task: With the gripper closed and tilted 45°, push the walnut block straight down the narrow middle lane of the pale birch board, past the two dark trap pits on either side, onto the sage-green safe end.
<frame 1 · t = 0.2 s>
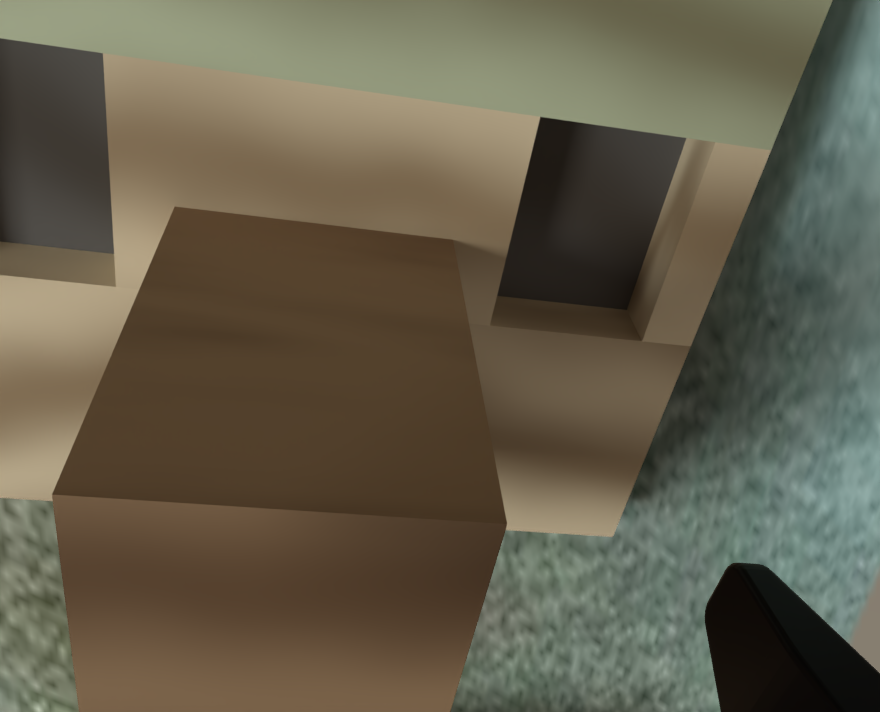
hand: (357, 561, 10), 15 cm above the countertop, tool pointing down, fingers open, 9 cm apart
trap board: (319, 207, 23), on the countertop
walnut block: (306, 337, 23), point 2 cm above the countertop, touching trap board
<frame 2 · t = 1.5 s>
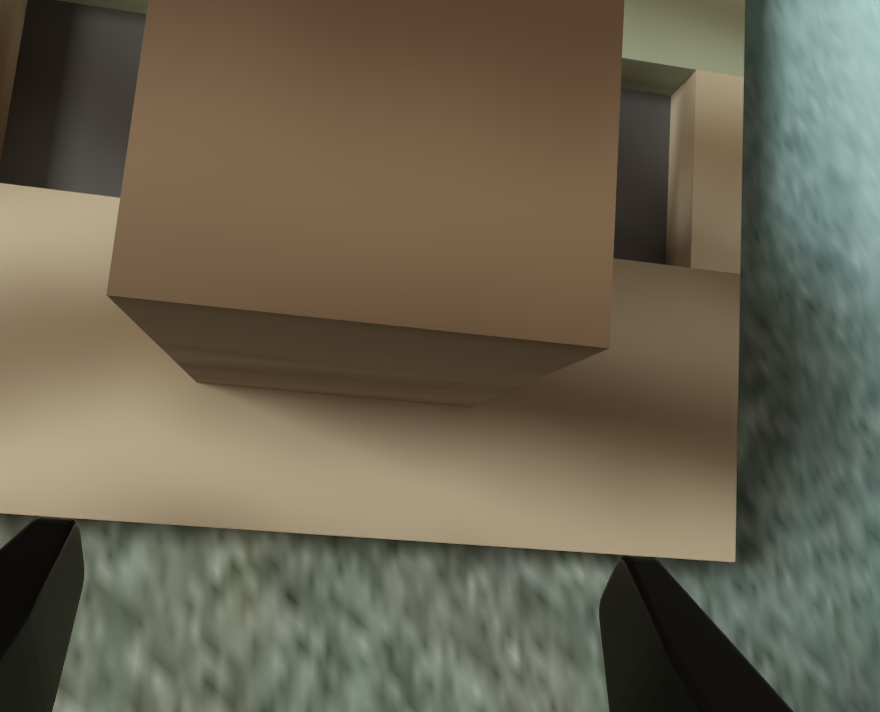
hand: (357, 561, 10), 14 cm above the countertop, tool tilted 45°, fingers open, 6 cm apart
trap board: (355, 180, 24), on the countertop
walnut block: (349, 263, 22), point 2 cm above the countertop, touching trap board
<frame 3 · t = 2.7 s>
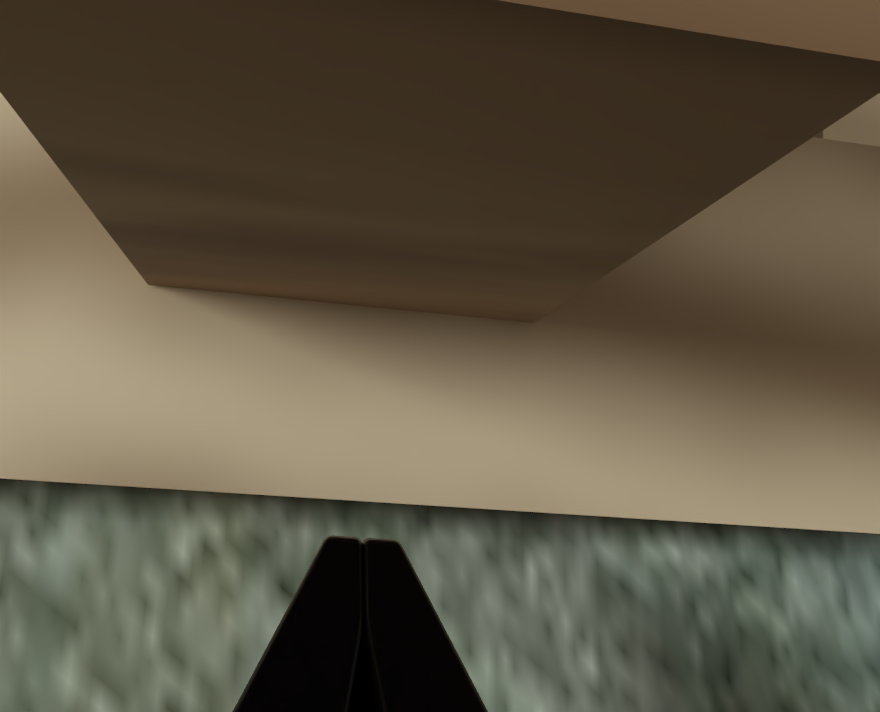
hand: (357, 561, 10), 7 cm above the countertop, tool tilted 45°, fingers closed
trap board: (366, 31, 18), on the countertop
walnut block: (362, 123, 16), point 2 cm above the countertop, touching trap board
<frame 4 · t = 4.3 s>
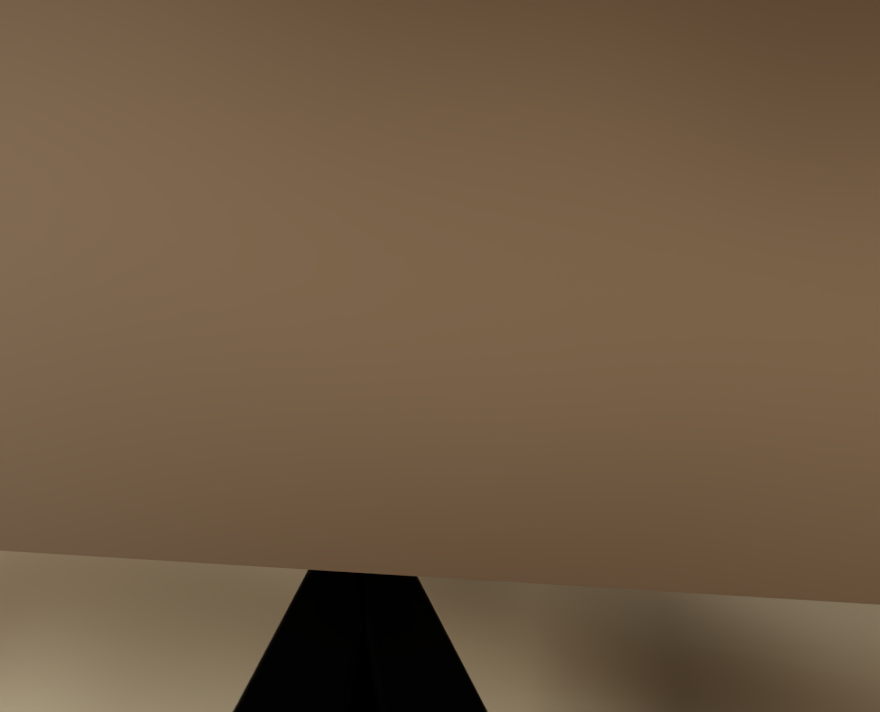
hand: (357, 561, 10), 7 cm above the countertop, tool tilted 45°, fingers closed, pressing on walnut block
trap board: (356, 331, 17), on the countertop
walnut block: (363, 332, 15), point 2 cm above the countertop, touching gripper, trap board
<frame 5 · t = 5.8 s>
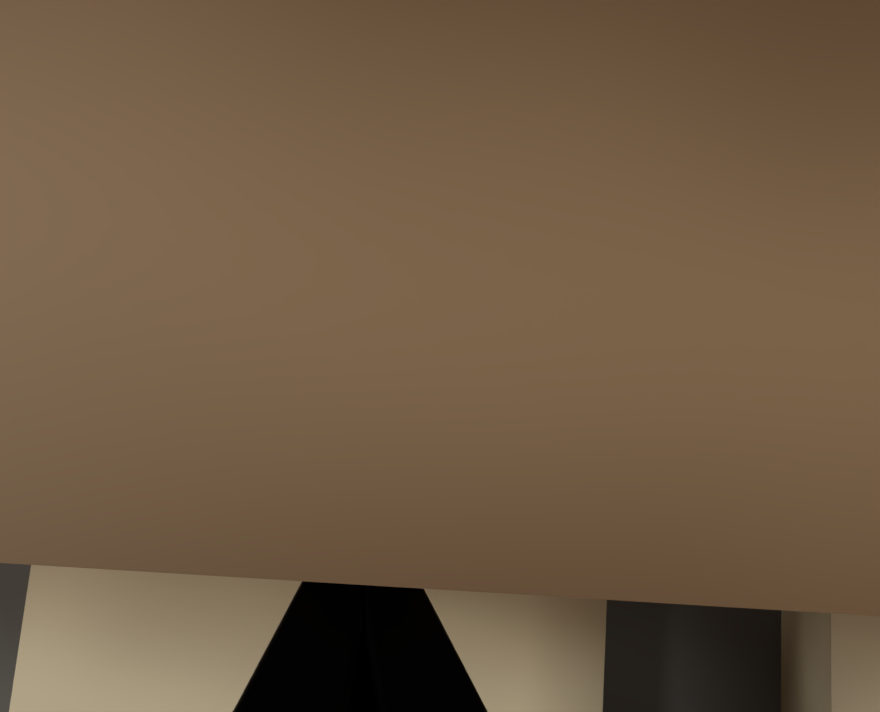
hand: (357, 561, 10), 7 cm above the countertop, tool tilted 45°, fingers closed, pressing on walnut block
trap board: (325, 621, 16), on the countertop
walnut block: (363, 329, 15), point 2 cm above the countertop, touching gripper, trap board
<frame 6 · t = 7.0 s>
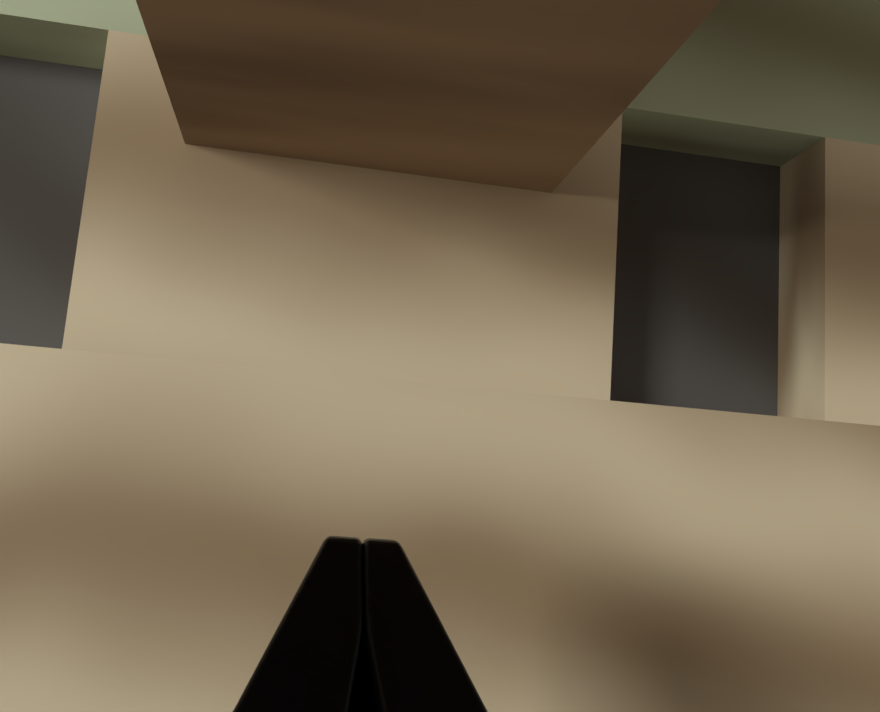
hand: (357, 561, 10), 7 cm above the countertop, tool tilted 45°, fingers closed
trap board: (352, 293, 18), on the countertop
walnut block: (390, 0, 16), point 2 cm above the countertop, touching trap board
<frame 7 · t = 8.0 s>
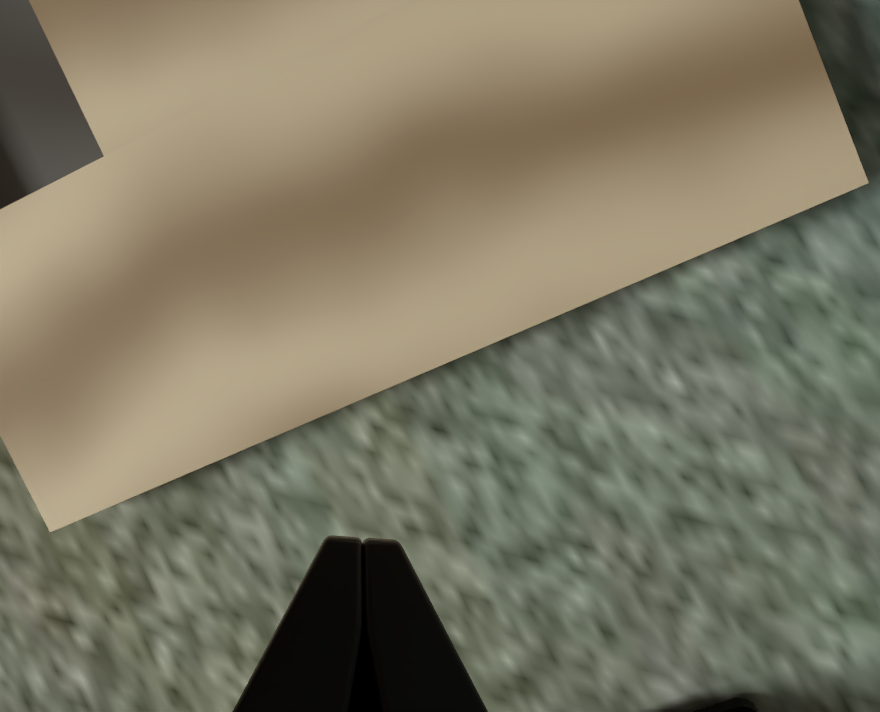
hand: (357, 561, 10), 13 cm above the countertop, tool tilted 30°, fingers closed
trap board: (272, 5, 21), on the countertop
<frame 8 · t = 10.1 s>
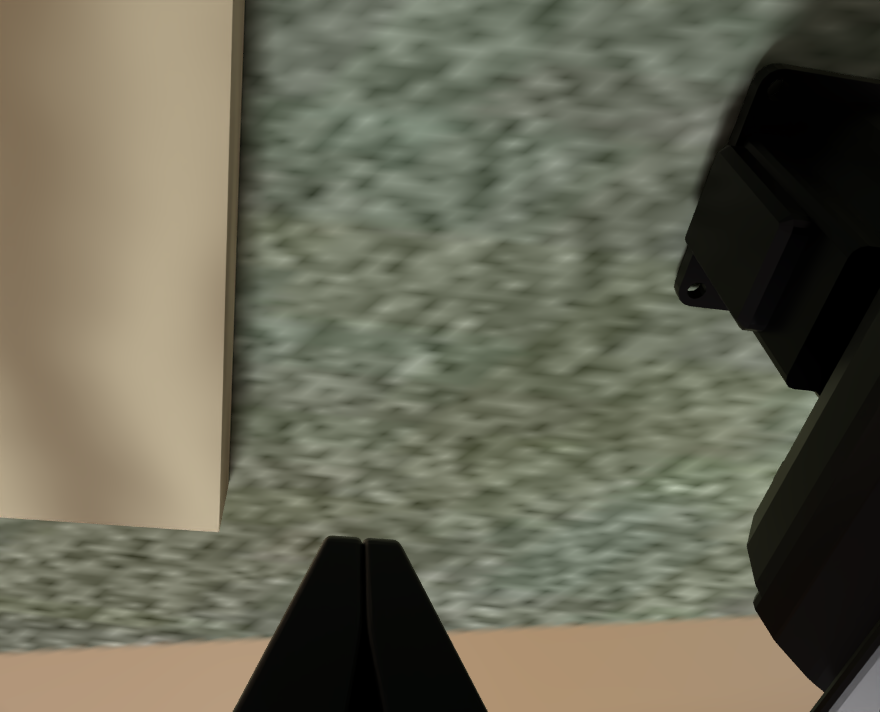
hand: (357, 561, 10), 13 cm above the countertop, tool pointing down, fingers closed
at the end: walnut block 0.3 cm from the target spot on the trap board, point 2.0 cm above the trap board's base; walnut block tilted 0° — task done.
